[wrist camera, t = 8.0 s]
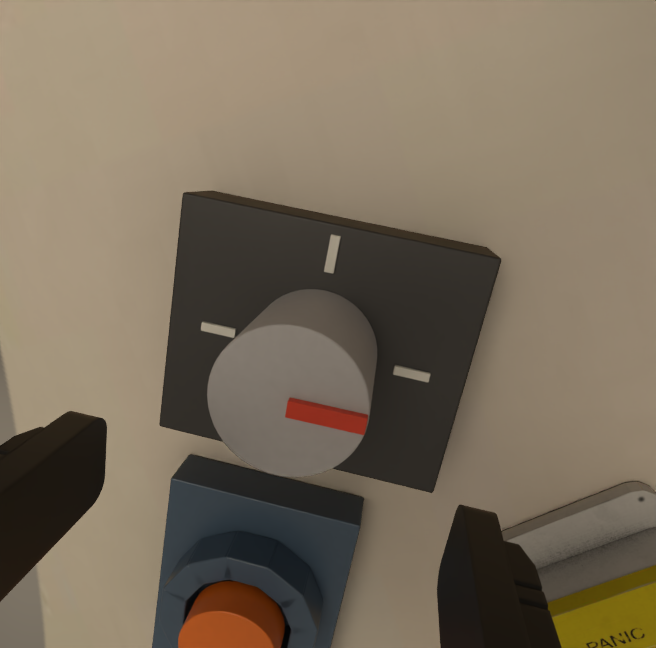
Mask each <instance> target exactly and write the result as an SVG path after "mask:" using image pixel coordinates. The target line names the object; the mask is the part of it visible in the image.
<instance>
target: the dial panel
mask: <svg viewBox="0 0 656 648" xmlns="http://www.w3.org/2000/svg"><path fill="white" fill-rule="evenodd" d="M500 263H501V258H499V257H498V256H497V255H496V254H494V253H493V252H492V251H491V250H489V249H488V248H487V247H482V246H477V245H472V244H468V243H463V242H458V241H453V240H448V239H443V238H439V237H434V236H429V235H424V234H419V233H414V232H409V231H405V230H400V229H395V228H390V227H385V226H380V225H376V224H371V223H366V222H361V221H356V220H351V219H347V218H342V217H337V216H332V215H327V214H322V213H317V212H313V211H308V210H303V209H298V208H293V207H288V206H284V205H279V204H274V203H269V202H264V201H259V200H254V199H250V198H245V197H240V196H235V195H230V194H225V193H221V192H216V191H200V192H185V193H183V198H182V208H181V218H180V228H179V238H178V247H177V257H176V267H175V277H174V287H173V297H172V307H171V316H170V326H169V336H168V346H167V356H166V366H165V376H164V385H163V395H162V405H161V415H160V426H162V427H166V428H170V429H174V430H178V431H182V432H186V433H190V434H194V435H198V436H202V437H207V438H211V439H215V440H219V441H223V440H222V439H221V437H220V436H219V434H218V432H217V430H216V429H215V427H214V424H213V422H212V419H211V416H210V412H209V408H208V399H207V388H208V381H209V376H210V373H211V370H212V367H213V365H214V363H215V361H216V359H217V358H218V356H219V355H220V353H221V352H222V351H223V350H224V348H225V347H226V346H227V345H228V344H229V343H230V342H231V341H232V340H233V339H234V338H236V337H237V336H238V335H239V334H240V333H241V332H242V331H243V330H244V329H245V328H246V327H247V326H248V325H249V324H250V323H251V322H252V321H253V320H254V319H255V318H256V317H257V316H258V315H259V314H261V313H262V312H263V311H264V310H265V309H266V308H267V307H268V306H269V305H270V304H271V303H272V302H274V301H275V300H276V299H278V298H280V297H281V296H283V295H285V294H288V293H290V292H294V291H298V290H304V289H318V290H325V291H328V292H332V293H335V294H337V295H340V296H342V297H343V298H345V299H347V300H348V301H350V302H351V303H352V304H354V305H355V306H356V307H357V308H358V309H359V310H360V311H361V312H362V313H363V314H364V316H365V317H366V318H367V320H368V322H369V323H370V325H371V327H372V329H373V332H374V335H375V338H376V343H377V363H376V371H375V378H374V386H373V394H372V401H371V409H370V416H369V422H368V426H367V429H366V432H365V434H364V436H363V439H362V441H361V442H360V444H359V445H358V447H357V448H356V449H355V451H354V452H353V453H352V454H351V455H350V456H349V457H348V458H347V459H346V460H344V461H343V462H342V463H340V464H339V465H337V466H336V467H334V468H333V469H337V470H341V471H345V472H349V473H353V474H357V475H361V476H365V477H369V478H373V479H377V480H382V481H386V482H390V483H394V484H398V485H402V486H406V487H410V488H414V489H418V490H422V491H426V492H430V493H432V492H433V491H434V488H435V485H436V481H437V478H438V474H439V471H440V467H441V464H442V461H443V457H444V454H445V450H446V447H447V444H448V440H449V437H450V433H451V430H452V427H453V423H454V420H455V416H456V413H457V410H458V406H459V403H460V399H461V396H462V393H463V389H464V386H465V382H466V379H467V376H468V372H469V369H470V365H471V362H472V358H473V355H474V352H475V348H476V345H477V341H478V338H479V335H480V331H481V328H482V324H483V321H484V318H485V314H486V311H487V307H488V304H489V301H490V297H491V294H492V290H493V287H494V284H495V280H496V277H497V273H498V270H499V266H500Z"/></svg>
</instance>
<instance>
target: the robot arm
mask: <svg viewBox="0 0 656 648" xmlns="http://www.w3.org/2000/svg"><path fill="white" fill-rule="evenodd" d="M106 437H107V425H106V422H105V420H104V419H103V418H99V417H95V416H90V415H86V414H82V413H78V412H74V411H69V412H67V413H65V414H63V415H62V416H61V417H59V418H58V419H56V420H55V421H53V422H52V423H50V424H49V425H48V426H46V427H45V428H43V427H39V428H36V429H33V430H30V431H27V432H25V433H22V434H19V435H16V436H14V437H13V438H11V439H10V440H8V441H6V442H5V443H4V444H2V445H0V601H1V600H2V599H3V598H4V597H5V596H6V595H7V594H8V593H9V592H10V591H11V590H12V589H13V588H14V587H15V586H16V584H18V583H19V582H20V581H21V580H22V578H23V577H24V576H25V575H26V574H27V573H28V572H29V571H30V570H31V569H32V568H33V567H34V566H35V565H36V564H37V563H38V562H39V561H40V560H41V559H42V558H43V557H44V556H45V554H46V553H47V552H48V551H49V550H50V549H51V548H52V547H53V546H54V545H55V544H56V543H57V542H58V541H59V540H60V539H61V538H62V537H63V536H64V535H65V534H66V533H67V532H68V531H69V529H70V528H71V527H72V526H73V525H74V524H75V523H76V522H77V521H78V520H79V519H80V518H81V517H82V516H83V515H84V514H85V513H86V512H87V511H88V510H89V509H90V508H91V507H92V505H93V504H94V503H95V502H96V500H97V498H98V497H99V495H100V492H101V490H102V487H103V484H104V479H105V461H106ZM437 598H438V613H439V628H440V644H441V648H562V647H561V644H560V641H559V638H558V635H557V631H556V628H555V625H554V622H553V619H552V616H551V613H550V611H549V610H548V603H547V600H546V597H545V594H544V592H542V585H541V582H540V579H539V575H538V572H537V569H536V566H535V564H534V563H533V562H532V561H531V559H530V558H529V557H528V555H527V554H526V553H525V552H524V550H523V549H522V548H521V546H520V545H519V544H515V543H511V542H507V541H504V540H503V536H502V532H501V528H500V524H499V521H498V517H497V515H496V513H493V512H489V511H485V510H481V509H476V508H472V507H468V506H464V505H459V506H458V508H457V510H456V513H455V516H454V520H453V523H452V526H451V530H450V533H449V537H448V540H447V544H446V547H445V550H444V554H443V557H442V561H441V565H440V569H439V575H438V585H437Z"/></svg>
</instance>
